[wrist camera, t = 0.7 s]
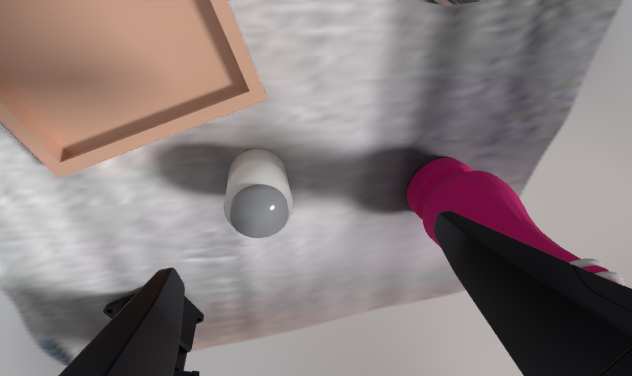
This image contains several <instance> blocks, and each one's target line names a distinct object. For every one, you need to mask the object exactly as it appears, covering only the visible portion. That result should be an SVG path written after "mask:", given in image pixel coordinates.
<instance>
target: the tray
mask: <svg viewBox="0 0 632 376" xmlns="http://www.w3.org/2000/svg"><path fill="white" fill-rule="evenodd" d="M266 99H267V97H266V94H265V91H264V89H263V86H262V84H261V81H260V79H259V76H258V74H257V71H256V69H255V66H254V64H253V61H252V59H251V57H250V54H249V52H248V49H247V47H246V44H245V42H244V39H243V37H242V34H241V32H240V29H239V27H238V24H237V22H236V19H235V17H234V15H233V12H232V10H231V7H230V5H229V2H228V0H0V122H1V123H2V124H3V125H4V126H5V127H6V128H7V129H8V130H10V131H11V132H12V133H13V134H14V135H15V136H16V137H17V138H18V139H19V140H20V141H21V142H22V143H23V144H24V145H25V146H26V147H27V148H28V149H29V150H30V151H31V152H32V153H33V154H34V155H35V156H36V157H37V158H38V159H39V160H40V161H41V162H42V163H43V164H44V165H45V166H46V167H47V168H48V169H49V170H51V171H52V172H53V173H54V174H55V175H56V176H57V177H58V178H60V177H62V176H65V175H68V174H70V173H73V172H76V171H78V170H81V169H84V168H86V167H89V166H91V165H94V164H97V163H99V162H102V161H105V160H107V159H110V158H113V157H115V156H118V155H121V154H123V153H126V152H128V151H131V150H134V149H136V148H139V147H142V146H144V145H147V144H150V143H152V142H155V141H158V140H160V139H163V138H166V137H168V136H171V135H173V134H176V133H179V132H181V131H184V130H187V129H189V128H192V127H195V126H197V125H200V124H203V123H205V122H208V121H211V120H213V119H216V118H218V117H221V116H224V115H226V114H229V113H232V112H234V111H237V110H240V109H242V108H245V107H248V106H250V105H253V104H256V103H258V102H261V101H263V100H266Z"/></svg>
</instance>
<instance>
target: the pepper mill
mask: <svg viewBox="0 0 632 376" xmlns="http://www.w3.org/2000/svg"><path fill="white" fill-rule="evenodd" d="M407 202H408V204H409V206H410V207H411V209H412V210H413V211H414V212H415V213H416V214H417V215H418V216H419V217H420V218H421V219H423V225H424V228H425V231H426V232H427V234H428V235H429V237H430V238H431V239H432V240H433V241H435V242H436V243H437V244H438V245H439V243H438V241H437V239H436V237H435V235H434V225H435V221H436V216H437V214H438V213H439V212H443V211H453V212H455V213H457V214H459V215H462V216H464V217H466V218H469V219H471V220H473V221H475V222H478V223H480V224H482V225H484V226H487V227H489V228H491V229H494V230H496V231H498V232H500V233H503V234H505V235H507V236H510V237H512V238H514V239H516V240H519V241H521V242H523V243H526V244H528V245H530V246H532V247H535V248H537V249H539V250H542V251H544V252H546V253H548V254H551V255H553V256H555V257H558V258H560V259H562V260H564V261H567V262H569V263H570V264H571V265H572V264H574V265H576V266H578V267H580V268H583V269H585V270H587V271H590V272H592V273H594V274H597V275H599V276H601V277H604V278H606V279H609V280H611V281H613V282H616V283H618V284H621V285H623V286H624V280H623V278H622V277H621V276H620V275H619V274H617V273H614V272H609V271H608V270H607V269H605V268H604V266H603V264H601V263H600V262H599V261H597V260H594V259H580V258H578V257H577V256H575V255H573V254H571V253H570V252H568V251H566V250H565V249H563V248H561V247H560V246H559V245H558V244H556V243H555V242H554V241H552V240H551V239H550V238H549V237H547V236H546V235H545V234H543V233H542V232H541V230H539V228H538V227H537V226H536V225H535V224H534V222H533V221H532V220H531V218H530V217H529V215H528V213H527V211H526V209H525V207H524V205H523V204H522V202H521V200H520V199H519V197H518V196H517V194H516V193H515V192H514V191H513V190H512V189H511V187H510V186H509V185H508V184H507V183H505V182H504V181H502V180H501V179H500V178H498V177H497V176H495V175H493V174H491V173H488V172H484V171H473V170H472V169H471V168H470V167H468V166H467V165H465V164H463V163H462V162H460V161H458V160H456V159H454V158H439V159H436V160H433V161H431V162H429V163H428V164H426V165H424V166H423V167H422V168H421V169H420V170H419V171H417V172H416V174H415V175H414V176H413V178H412V179H411V181H410V183H409V186H408V188H407ZM439 246H440V245H439Z"/></svg>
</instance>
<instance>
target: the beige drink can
mask: <svg viewBox="0 0 632 376" xmlns="http://www.w3.org/2000/svg"><path fill="white" fill-rule="evenodd" d="M434 1H435V2H437V3H439V4H440V5H444V6H453V5H457V4H463V3H471V2H478V1H486V0H434Z"/></svg>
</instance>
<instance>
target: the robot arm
mask: <svg viewBox="0 0 632 376" xmlns="http://www.w3.org/2000/svg"><path fill="white" fill-rule="evenodd" d="M434 235H435V237H436V239H437V241H438V243H439V245H440V247H441V248H442V250H443V252H444V254H445V256H446V258H447V260H448V262H449V263H450V265H451V267H452V269H453V271H454V272H455V274H456V276H457V277H458V279H459V280H460V282H461V283H462V285H463V286H464V288H465V289H466V291H467V292H468V293H469V295H470V297H471V298H472V299H473V301H474V302H475V304H476V305H477V307H478V308H479V310H480V311H481V313H482V314H483V316H484V317H485V319H486V320H487V322H488V323H489V325H490V326H491V328H492V329H493V331H494V332H495V334H496V335H497V337H498V338H499V340H500V341H501V343H502V344H503V346H504V347H505V349H506V350H507V352H508V353H509V355H510V356H511V358H512V359H513V360H514V362H515V363H516V365H517V366H518V368H519V369H520V371H521V372H522V374H523V375H524V376H632V289H631V288H628V287H626V286H623V285H621V284H618V283H616V282H613V281H611V280H609V279H606V278H604V277H601V276H599V275H597V274H594V273H592V272H590V271H587V270H585V269H583V268H580V267H578V266H576V265H574V264H572V265H571V264H570V263H569V262H567V261H564V260H562V259H560V258H558V257H555V256H553V255H551V254H548V253H546V252H544V251H542V250H539V249H537V248H535V247H532V246H530V245H528V244H526V243H523V242H521V241H519V240H516V239H514V238H512V237H510V236H507V235H505V234H503V233H500V232H498V231H496V230H494V229H491V228H489V227H487V226H484V225H482V224H480V223H478V222H475V221H473V220H471V219H469V218H466V217H464V216H462V215H459V214H457V213H455V212H453V211H443V212H439V213H438V214H437V216H436V221H435V225H434ZM184 292H185V287H184V283H183V281H182V280H181V278H180V276H179V275H178V273H177V271H176V270H175V269H174V268H166V269H161V270H159V271H158V272H157V273H156V274H155V275H154V276H153V277H152V278H151V279H150V280H149V281H148V282H147V283H146V284H145V285H144V286H143V287H142V288H141V289H140V290H139V291H138V293H136V294H134V295H131V296H128V297H126V298H123V299H121V300H118V301H116V302H113V303H110V304H108V305H106V307H105V309H104V310H103V311H104V313H105V314H106V315H108V316H109V317H111V318H112V320H111V321H110V322H109V323H108V324H107V325H106V326H105V327H104V328H103V329H102V330H101V331H100V332H99V334H98V335H97V336H96V337H95V338H94V339H93V340H92V341H91V342H90V343H89V344H88V345H87V346H86V347H85V348H84V349H83V350H82V351H81V352H80V354H79V355H78V356H77V357H76V358H75V359H74V360H73V361H72V362H71V363H70V364H69V365H68V366H67V367H66V368H65V369H64V370H63V371H62V372H61V374H60V375H59V376H199V371H192V372H188V371H184V366H185V361H186V355H187V353H188V352H190V351H191V348H192V344H193V339H194V333H195V328H196V324H198V323H200V322H202V321H203V319H204V315H203V314H202V313H201V312H200V311H199V310H198V309H197V308H196V307H195V306H194V305H193V304H192V303H191V302H190V301H189V300H188V299H187V298H186V297H185V296H184Z"/></svg>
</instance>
